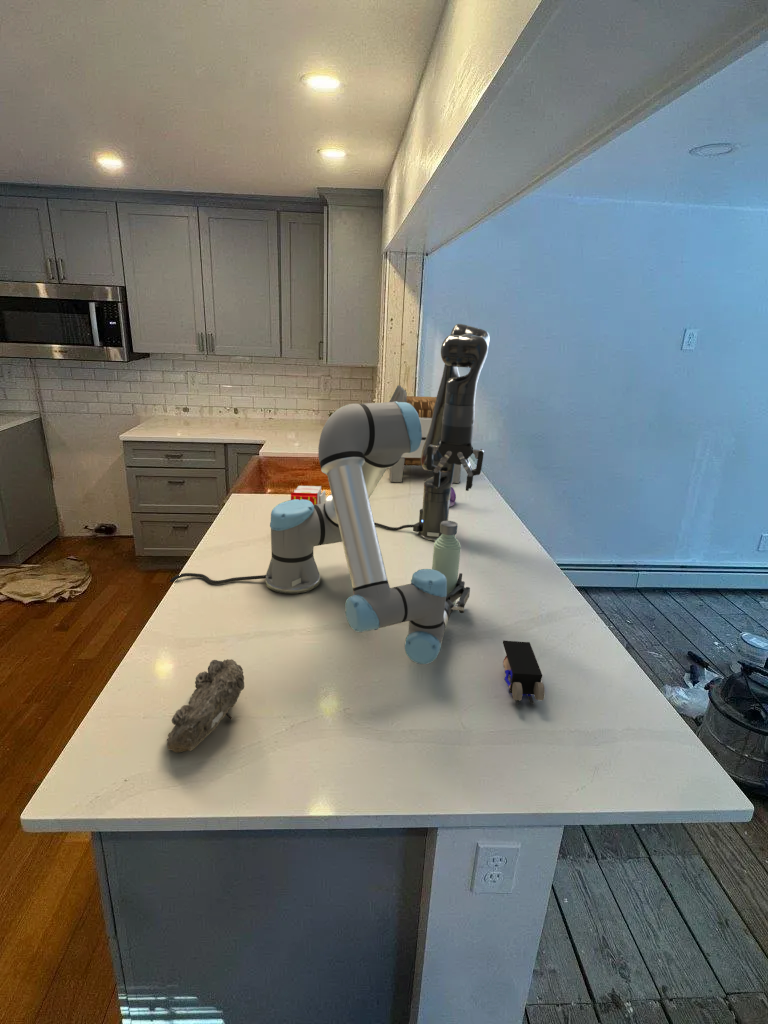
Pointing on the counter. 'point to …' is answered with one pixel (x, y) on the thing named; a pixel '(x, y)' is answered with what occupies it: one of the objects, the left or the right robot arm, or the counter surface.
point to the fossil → (206, 705)
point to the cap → (448, 527)
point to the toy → (309, 494)
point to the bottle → (447, 559)
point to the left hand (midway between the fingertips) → (446, 575)
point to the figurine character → (522, 671)
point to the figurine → (452, 497)
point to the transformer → (425, 414)
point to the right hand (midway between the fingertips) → (452, 488)
